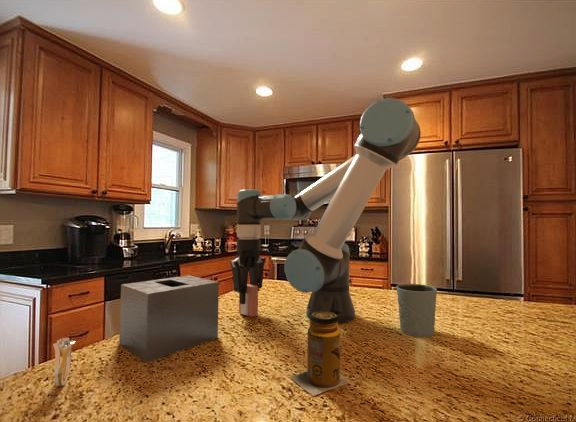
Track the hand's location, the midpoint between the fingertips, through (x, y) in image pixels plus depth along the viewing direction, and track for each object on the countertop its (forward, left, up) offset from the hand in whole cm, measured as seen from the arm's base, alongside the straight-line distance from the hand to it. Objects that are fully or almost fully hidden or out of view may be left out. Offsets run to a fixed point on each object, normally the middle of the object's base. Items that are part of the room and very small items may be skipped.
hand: (248, 312), depth 96 cm
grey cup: (-45, -21, -1) cm, 49 cm away
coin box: (-2, +27, -1) cm, 27 cm away
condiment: (-40, +18, -1) cm, 44 cm away
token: (0, 0, 0) cm, 0 cm away
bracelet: (-7, +50, -1) cm, 50 cm away
